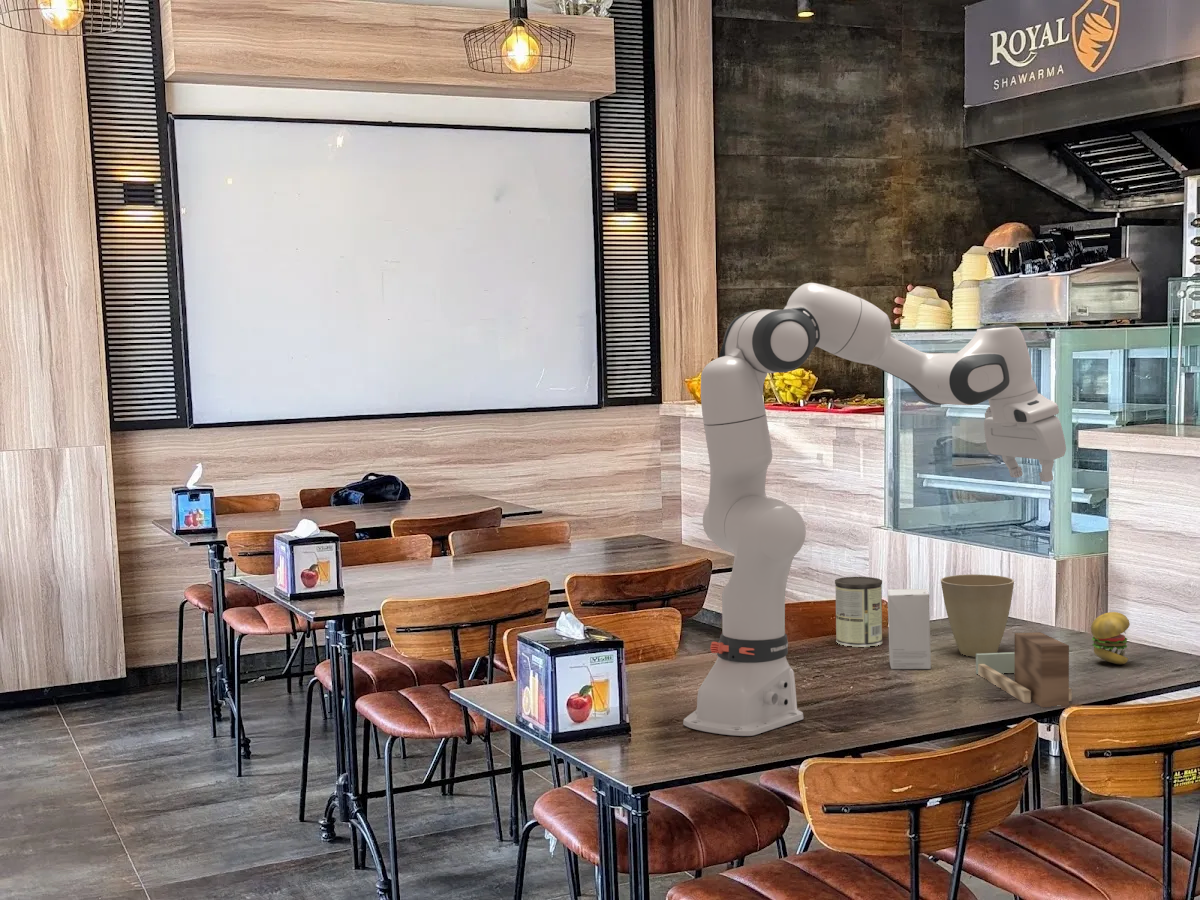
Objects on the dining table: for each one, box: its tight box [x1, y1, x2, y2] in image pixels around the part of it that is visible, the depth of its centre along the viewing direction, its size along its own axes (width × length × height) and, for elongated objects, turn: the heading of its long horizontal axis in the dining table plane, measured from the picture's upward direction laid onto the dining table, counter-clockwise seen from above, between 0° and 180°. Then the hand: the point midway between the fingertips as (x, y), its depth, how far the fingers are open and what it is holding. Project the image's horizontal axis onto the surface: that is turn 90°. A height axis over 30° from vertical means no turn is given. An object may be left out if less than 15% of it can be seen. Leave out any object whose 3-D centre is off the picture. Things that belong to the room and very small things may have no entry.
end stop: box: [975, 651, 1015, 675], centre depth 258 cm, size 1×9×4 cm, turn 95°
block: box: [1013, 631, 1070, 708], centre depth 238 cm, size 12×5×11 cm, turn 5°
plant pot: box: [940, 574, 1015, 658], centre depth 275 cm, size 15×15×16 cm
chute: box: [978, 664, 1073, 704], centre depth 246 cm, size 22×9×2 cm, turn 5°
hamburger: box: [1090, 606, 1131, 665], centre depth 264 cm, size 8×7×12 cm
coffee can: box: [834, 576, 884, 648], centre depth 288 cm, size 10×10×14 cm
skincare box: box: [887, 588, 932, 670], centre depth 265 cm, size 8×7×16 cm
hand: (1031, 478), depth 243 cm, fingers open, 8 cm apart
